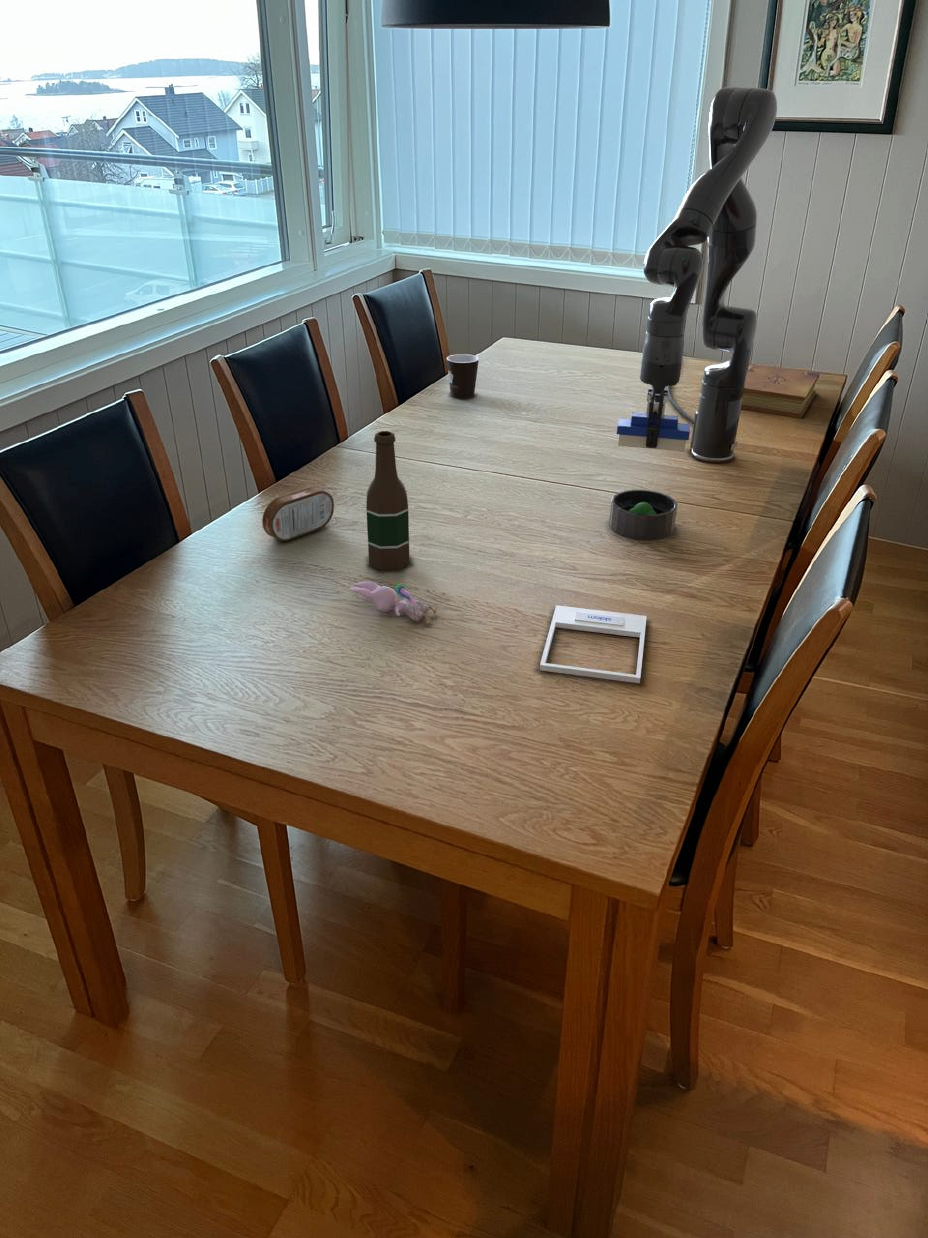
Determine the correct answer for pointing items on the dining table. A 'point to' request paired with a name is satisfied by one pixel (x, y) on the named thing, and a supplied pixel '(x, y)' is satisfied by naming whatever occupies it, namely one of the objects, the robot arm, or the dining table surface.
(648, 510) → the broccoli floret
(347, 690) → the dining table surface
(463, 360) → the coffee mug
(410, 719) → the dining table surface
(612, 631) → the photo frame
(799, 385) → the diary
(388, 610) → the rabbit figure
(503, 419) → the dining table surface
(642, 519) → the bowl
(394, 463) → the beer bottle
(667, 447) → the brush
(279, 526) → the tin
